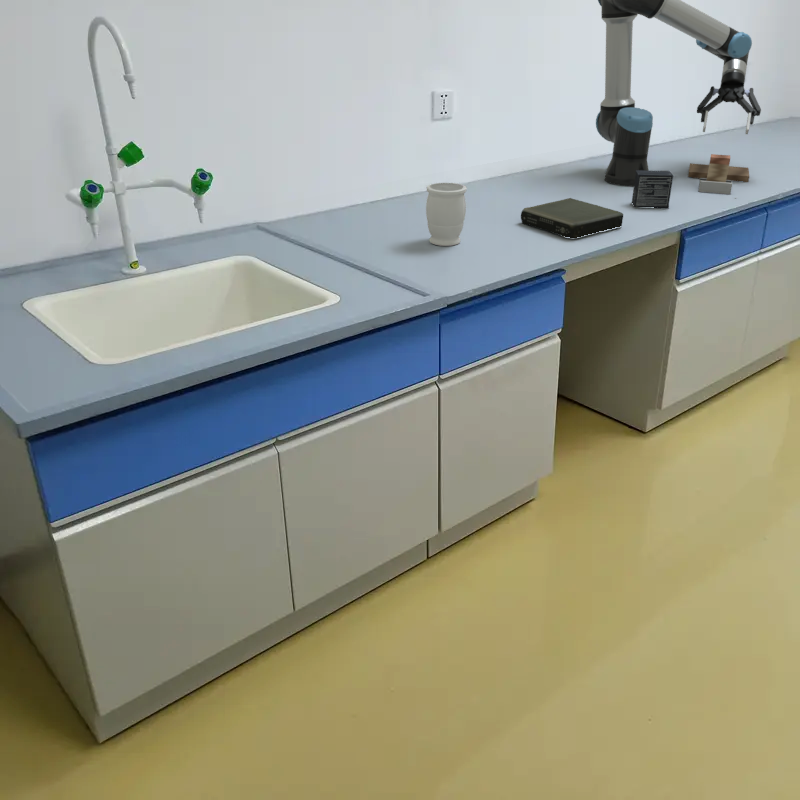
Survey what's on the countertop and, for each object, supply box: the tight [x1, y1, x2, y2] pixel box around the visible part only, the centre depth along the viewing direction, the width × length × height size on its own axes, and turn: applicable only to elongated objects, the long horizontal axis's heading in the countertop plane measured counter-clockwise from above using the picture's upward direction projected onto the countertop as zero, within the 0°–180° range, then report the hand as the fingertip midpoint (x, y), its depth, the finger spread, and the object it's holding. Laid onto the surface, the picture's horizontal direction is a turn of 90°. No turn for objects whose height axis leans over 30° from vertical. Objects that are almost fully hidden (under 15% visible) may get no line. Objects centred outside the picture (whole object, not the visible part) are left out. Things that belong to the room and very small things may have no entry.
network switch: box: [520, 197, 624, 238], centre depth 234 cm, size 23×24×5 cm
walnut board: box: [687, 163, 750, 183], centre depth 289 cm, size 20×14×2 cm
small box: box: [631, 170, 674, 209], centre depth 251 cm, size 11×6×10 cm, turn 84°
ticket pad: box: [706, 153, 731, 182], centre depth 269 cm, size 6×5×11 cm
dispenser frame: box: [698, 178, 733, 195], centre depth 271 cm, size 10×9×4 cm
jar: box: [425, 182, 468, 247], centre depth 217 cm, size 11×10×15 cm
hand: (725, 130), depth 272 cm, fingers open, 13 cm apart
